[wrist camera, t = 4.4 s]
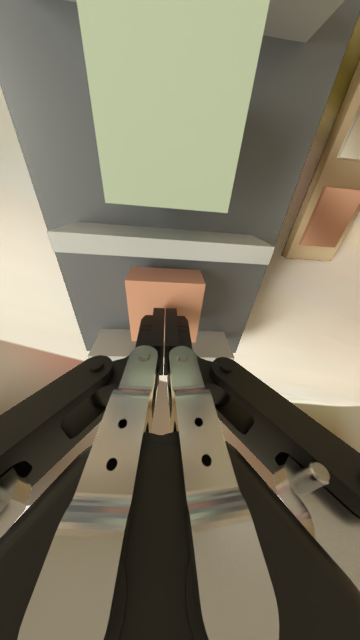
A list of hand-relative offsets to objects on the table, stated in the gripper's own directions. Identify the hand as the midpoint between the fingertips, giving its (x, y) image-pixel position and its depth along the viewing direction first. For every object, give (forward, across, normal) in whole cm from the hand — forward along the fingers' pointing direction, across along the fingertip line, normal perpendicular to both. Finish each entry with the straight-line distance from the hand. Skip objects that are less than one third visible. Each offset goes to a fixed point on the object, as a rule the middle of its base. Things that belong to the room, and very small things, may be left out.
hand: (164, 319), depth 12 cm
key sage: (+4, 0, -9) cm, 10 cm away
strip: (+7, -13, -9) cm, 17 cm away
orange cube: (+5, 0, 0) cm, 5 cm away
